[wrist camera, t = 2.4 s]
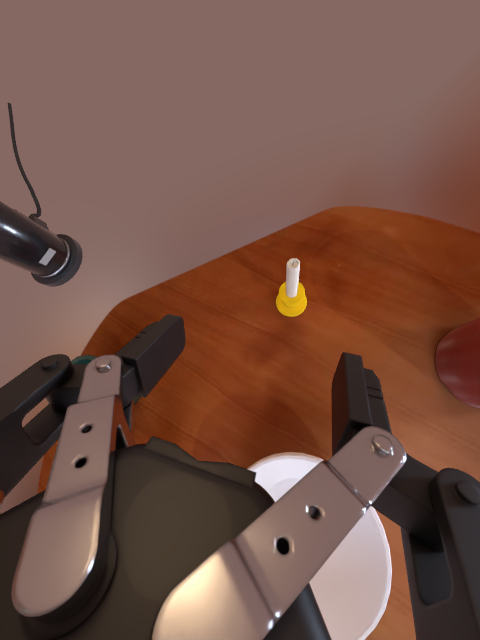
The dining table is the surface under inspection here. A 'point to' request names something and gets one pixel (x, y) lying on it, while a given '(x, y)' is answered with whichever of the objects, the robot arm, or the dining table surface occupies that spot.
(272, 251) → the dining table surface
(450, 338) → the flower pot
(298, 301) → the candle
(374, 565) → the bowl
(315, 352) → the dining table surface
